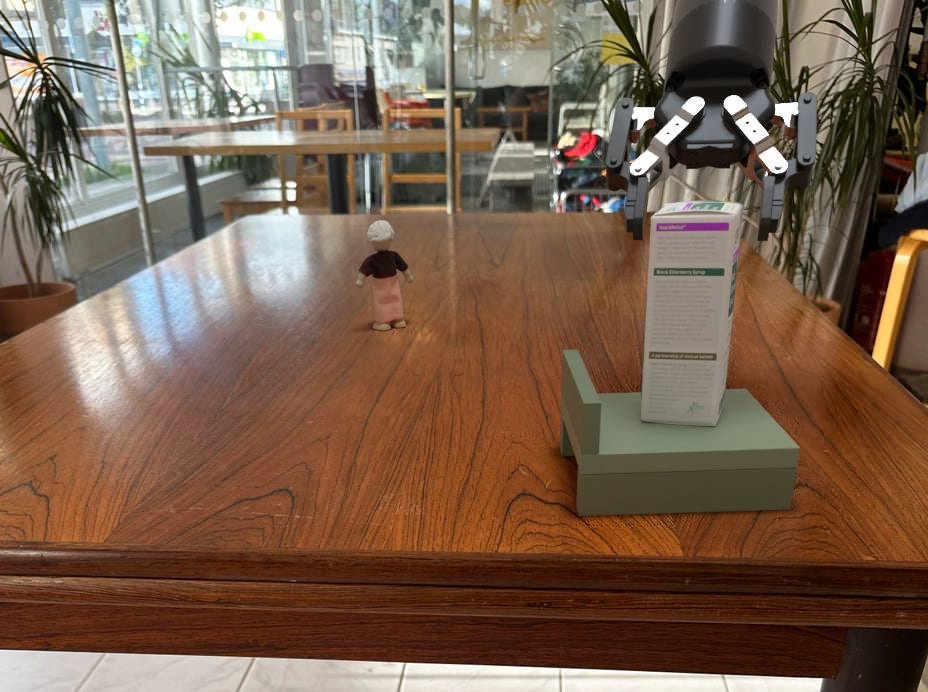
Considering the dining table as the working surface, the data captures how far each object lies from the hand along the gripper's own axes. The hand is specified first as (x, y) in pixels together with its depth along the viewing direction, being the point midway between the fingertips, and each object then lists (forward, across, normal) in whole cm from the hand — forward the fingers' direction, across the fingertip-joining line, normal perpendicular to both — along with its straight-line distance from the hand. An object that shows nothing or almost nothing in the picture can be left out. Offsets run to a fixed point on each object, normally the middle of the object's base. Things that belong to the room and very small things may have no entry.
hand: (700, 233), depth 66 cm
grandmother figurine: (-19, -39, +44) cm, 62 cm away
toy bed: (+14, -1, +11) cm, 18 cm away
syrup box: (+10, 0, +9) cm, 13 cm away
